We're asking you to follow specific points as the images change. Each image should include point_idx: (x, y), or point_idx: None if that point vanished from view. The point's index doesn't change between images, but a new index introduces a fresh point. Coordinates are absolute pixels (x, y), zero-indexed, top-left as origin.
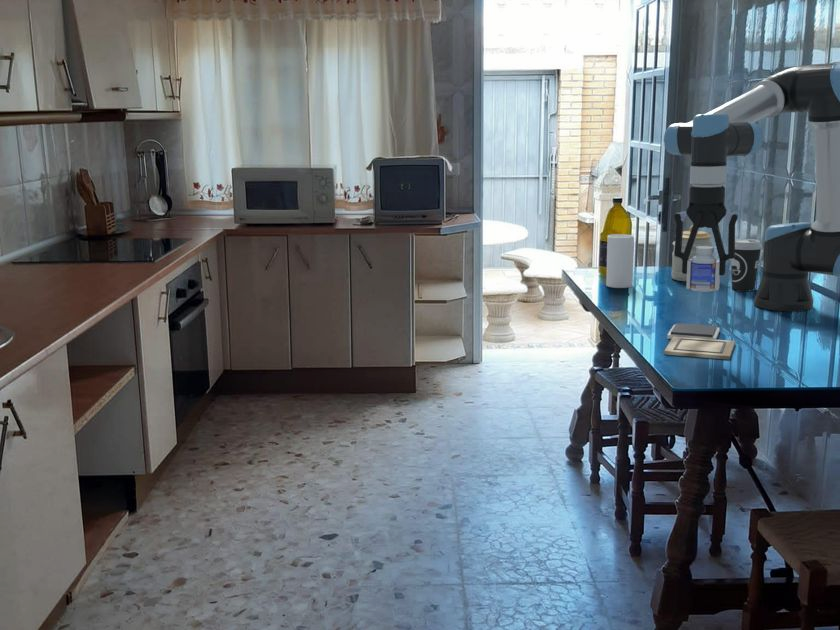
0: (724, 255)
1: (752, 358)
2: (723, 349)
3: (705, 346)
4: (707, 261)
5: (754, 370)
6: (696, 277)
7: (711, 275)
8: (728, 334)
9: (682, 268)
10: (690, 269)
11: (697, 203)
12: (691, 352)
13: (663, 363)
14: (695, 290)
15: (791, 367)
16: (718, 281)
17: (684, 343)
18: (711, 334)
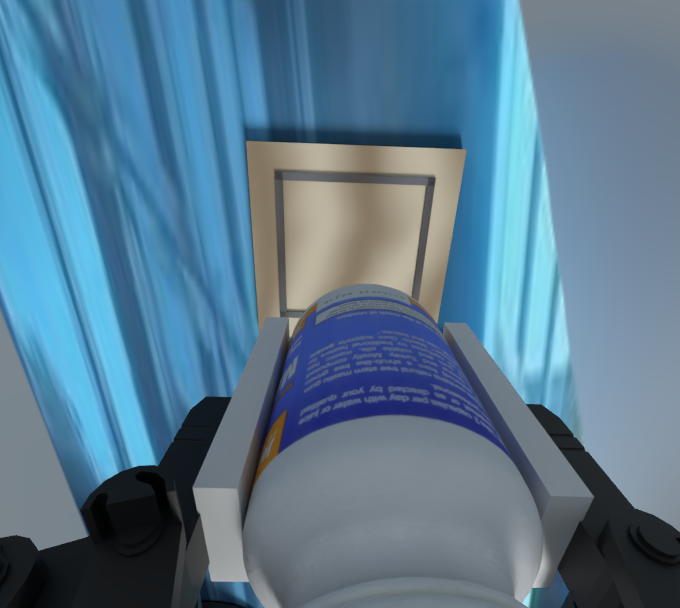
0: (81, 597)
1: (185, 182)
2: (276, 220)
3: (335, 249)
4: (338, 451)
5: (143, 5)
6: (425, 335)
7: (299, 361)
8: None
9: (574, 438)
10: (501, 413)
11: None
12: (374, 154)
13: (468, 6)
14: (407, 294)
15: (44, 97)
16: (253, 349)
17: (400, 269)
18: None
